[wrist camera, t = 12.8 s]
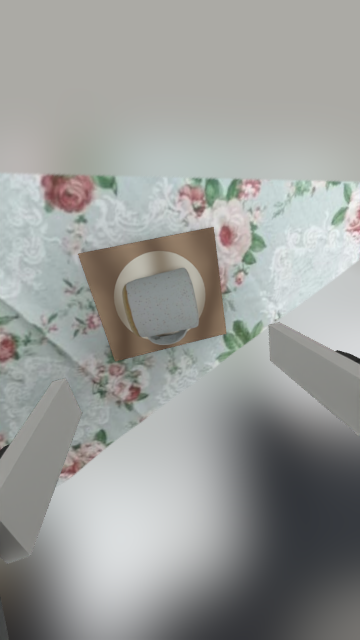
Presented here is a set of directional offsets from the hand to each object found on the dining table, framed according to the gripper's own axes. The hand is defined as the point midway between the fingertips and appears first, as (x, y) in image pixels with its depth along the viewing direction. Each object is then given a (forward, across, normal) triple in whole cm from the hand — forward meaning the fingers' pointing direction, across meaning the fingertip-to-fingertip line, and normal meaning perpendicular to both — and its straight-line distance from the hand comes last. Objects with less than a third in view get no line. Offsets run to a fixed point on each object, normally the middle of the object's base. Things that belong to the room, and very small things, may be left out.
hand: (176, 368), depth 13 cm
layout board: (+19, -1, 0) cm, 19 cm away
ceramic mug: (+18, -1, +1) cm, 18 cm away
